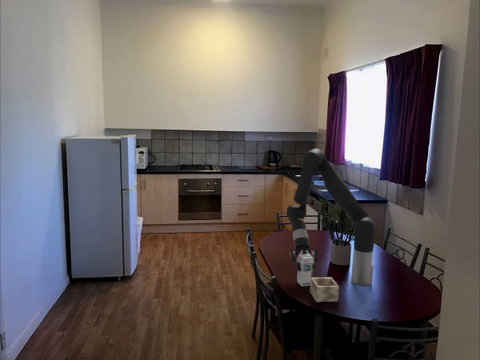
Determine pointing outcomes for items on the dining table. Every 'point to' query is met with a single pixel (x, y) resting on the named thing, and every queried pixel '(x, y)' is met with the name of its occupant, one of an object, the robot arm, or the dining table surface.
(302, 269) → the syrup box
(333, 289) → the holder
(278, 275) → the dining table surface
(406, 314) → the dining table surface
